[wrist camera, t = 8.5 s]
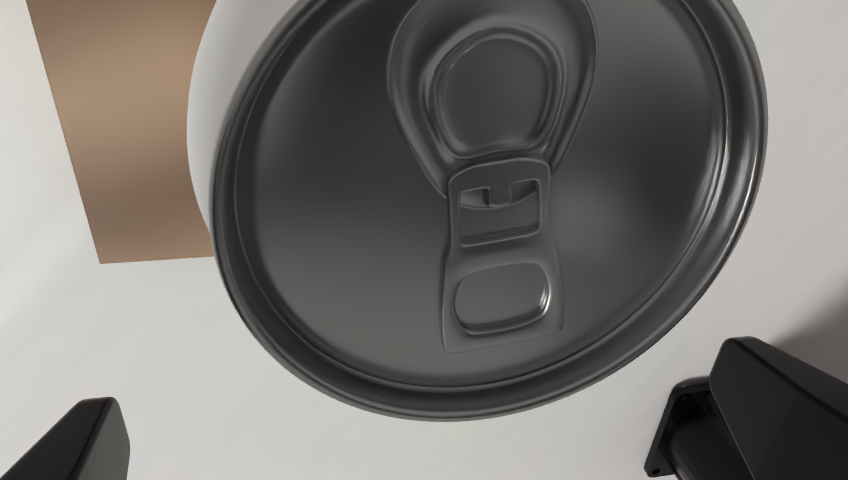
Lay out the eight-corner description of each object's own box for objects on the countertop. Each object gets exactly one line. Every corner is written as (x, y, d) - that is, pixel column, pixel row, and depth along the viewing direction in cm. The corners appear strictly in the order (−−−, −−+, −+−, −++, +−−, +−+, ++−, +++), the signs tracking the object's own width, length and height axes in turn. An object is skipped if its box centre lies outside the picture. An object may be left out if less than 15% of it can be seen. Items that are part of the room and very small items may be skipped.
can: (484, -158, 15) (906, -213, 5) (492, 99, 18) (743, 388, 8) (212, -128, 14) (12, -113, 4) (275, 134, 17) (255, 496, 7)
